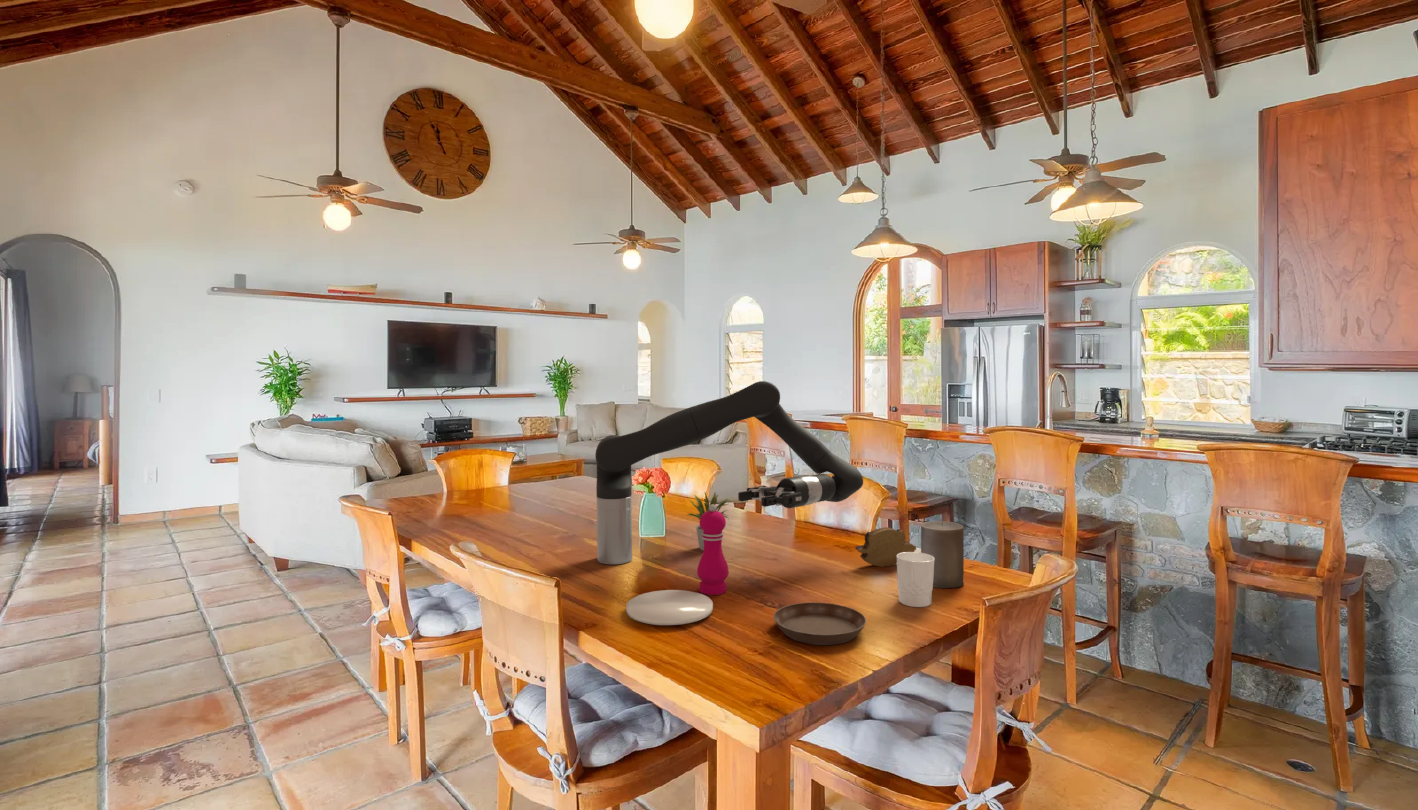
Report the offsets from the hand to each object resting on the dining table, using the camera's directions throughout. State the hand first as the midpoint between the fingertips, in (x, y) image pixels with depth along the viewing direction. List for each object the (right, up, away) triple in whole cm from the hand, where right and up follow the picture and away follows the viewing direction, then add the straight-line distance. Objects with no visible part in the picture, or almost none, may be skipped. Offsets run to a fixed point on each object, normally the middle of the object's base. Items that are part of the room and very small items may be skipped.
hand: (750, 499), depth 159 cm
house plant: (-9, -19, +29) cm, 36 cm away
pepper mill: (-9, -20, -6) cm, 23 cm away
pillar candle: (+45, -20, 0) cm, 50 cm away
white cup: (+35, -21, -14) cm, 43 cm away
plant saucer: (+12, -22, -29) cm, 38 cm away
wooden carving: (+36, -19, +14) cm, 43 cm away
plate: (-18, -21, -19) cm, 34 cm away
